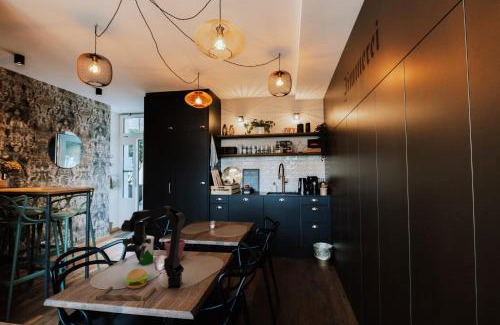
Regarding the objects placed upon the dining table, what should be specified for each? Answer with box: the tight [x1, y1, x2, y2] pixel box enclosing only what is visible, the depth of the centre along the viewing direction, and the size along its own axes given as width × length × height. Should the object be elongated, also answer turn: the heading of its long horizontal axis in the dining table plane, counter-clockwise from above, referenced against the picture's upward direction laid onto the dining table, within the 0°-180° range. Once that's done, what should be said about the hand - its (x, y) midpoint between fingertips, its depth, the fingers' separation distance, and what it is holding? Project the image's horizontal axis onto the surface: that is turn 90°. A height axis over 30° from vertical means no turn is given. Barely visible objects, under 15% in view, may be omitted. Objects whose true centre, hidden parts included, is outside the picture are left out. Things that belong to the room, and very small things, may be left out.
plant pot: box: [164, 238, 186, 261], centre depth 184 cm, size 14×14×13 cm
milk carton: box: [138, 233, 155, 267], centre depth 176 cm, size 9×9×20 cm
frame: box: [95, 286, 157, 302], centre depth 130 cm, size 26×11×2 cm, turn 85°
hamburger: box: [124, 268, 150, 290], centre depth 141 cm, size 12×12×9 cm
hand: (138, 259), depth 146 cm, fingers closed
